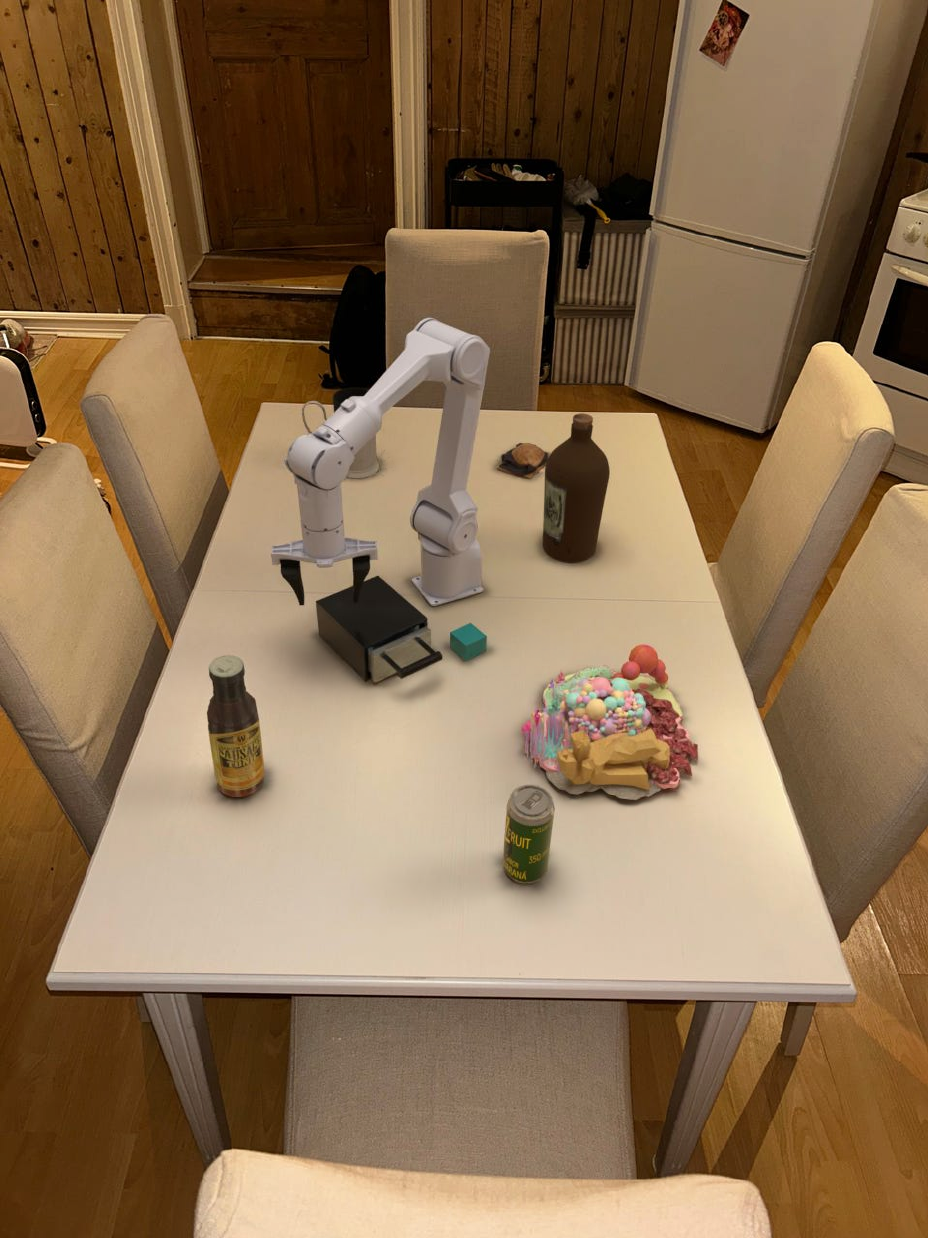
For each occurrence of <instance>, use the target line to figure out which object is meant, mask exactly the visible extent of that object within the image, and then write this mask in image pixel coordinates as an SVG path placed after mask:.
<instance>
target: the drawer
mask: <svg viewBox="0 0 928 1238" xmlns="http://www.w3.org/2000/svg"><path fill="white" fill-rule="evenodd" d="M443 658H444V657H443V654H442V652H441V651H439V650H437V651H436V650H434V649H433V648H432V629H431V628H430V627H429V626H428V627H427V626H425V627H423V628H421V629H419V625H418V626H416V627H414V628H412V629H409V630H407V631H405V632H403V633H401V634H398V635H396V636H394V637H392V638H390V639H387V640H385V641H383V642H381V643H379V644H376V645H374V646H372V647H370V648H368V649H367V659H368V671H370V674H371V681H373V682H374V683H379V682H380V681H382V680H384V679H387V678H388V677H391V676H392V675H395V674H397V676H398V678H399V679H400V680H403V679H406V678H408V677H409V676H411V675H414V674H415V673H419V672H420V671H422V670H423V669H426V668H427V667H431V666H432V665H434V664H437V663H438V662H440V661H441V662H442V661H443V660H444V659H443Z"/></svg>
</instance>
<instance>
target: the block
mask: <svg viewBox="0 0 928 1238" xmlns="http://www.w3.org/2000/svg"><path fill="white" fill-rule="evenodd" d="M487 637H488V636H487V635H486V634H485V633H484V632H483V631H481V629H479V628H478V627H477V626H476V625H474V624H473V623H472V622H469V623H466V624H465V625H462V626H459V627H458V628H455V629H454V630H452V631H450V632H449V648H450V649H451V650H452V651H453V652H455V653H456V654H457V655H458V656H459V657H460V658H461V659H462V660H463V661H465V662H467V661H469V660H470V659H474V657H477V656H479V655H481V654H483V653H484V652H487V641H488V640H487V639H488V638H487Z"/></svg>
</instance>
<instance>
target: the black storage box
mask: <svg viewBox="0 0 928 1238" xmlns="http://www.w3.org/2000/svg"><path fill="white" fill-rule="evenodd" d="M315 608H316V619H317V629H318V631H317V632H318V636H319V637H320V638H321V639H322V640H323V641H324V642H325V643H326V645H328V646H329V647H330V648H331V650H333V651H334V653H336V654H337V655H338V656H339V657H340V658H341V659H342V660H343V661H344V662H345V663H346V664H347V665H348V666H349V667H350V669H352V671H354V672H355V673H356V674H357V675H358V676H359V677H360V678H361V679H362V681H364V683H367V682H369V681H372V679H371V674H370V671H368V659H367V649H368V648H370V647H372V646H374V645H376V644H379V643H381V642H383V641H385V640H387V639H390V638H392V637H394V636H396V635H398V634H401V633H403V632H405V631H407V630H409V629H412V628H414V627H416V626H418V625H419V629H421V628H423V627H425V626H427V627H428V628H429V626H428V624H429V623H428V621H429V620H428V617H427V616H426V615H424V614H423V612H421V611H420V610H418V609H417V608H416V607H415V606H414V605H413V604H412V603H411V602H409V600H407V599H406V598H405V597H404V596H403V595H402V594H400V593H399V592H398V591H397V590H396V589H395V588H393V587H392V586H391V585H390V584H389V583H388V582H387V581H385V580H384V579H383V578H382V577H381V576H380V575H375V576H373V577H371V578H368V579H365V580H364V582H363V584H362V587H361V590H360V593H359V599H358V603H354V602H353V585H351V586H349V587H347V588H344V589H342V590H339V591H337V592H334V593H331V594H330V595H327V596H325V597H322V598H320V599H317V600H315Z"/></svg>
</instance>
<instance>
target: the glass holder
mask: <svg viewBox="0 0 928 1238" xmlns="http://www.w3.org/2000/svg"><path fill="white" fill-rule="evenodd" d="M368 391H369V389H366V388H362V387H345V388H342V389H339V390H337V391H336V392H334V394H333V395H332V404H333V413H334V412H335V411H336V410H337V409H338V408H339V407H341V404H342V403H343V402H344V401H345V400H346V399H349V398H350V397H352V396H365V395H366V393H367V392H368ZM312 404H315V405H317V406H318V407H319V408H320V409H321V410H322V413H323V419H324V422H325V421H326V420H327V419H328V418H327V412H326V409H325V407H324V405H322V403H321V402H319V401H317V400H310V401H307V402H306V403H304V404H303V406H302V408H301V417H302V423H303V425H304V427H305V430H306V431H307V432H308V433H307V434H313V433H314V432H312V430H311V429H310V427H309V426H308V423H307V421H306V416H305V408H306V406H308V405H312ZM377 454H378V453H377V433H376V434H375V435H374V436H373V437H372V438H371V439H370V440H369V441H368V442H367V443H366V444H365V445H364V446H363V447H362V448H361V449H360V450H359V451H358V452H357V453H356V454H355V455H354V457H355V459H354V460H353V461H354V462H353V463H352V464H351V465H350V467H349V471H348V474H347V476H346V478H347V479H364V478H369V477H371V476H373V475H375V474H377V472H378V471H379V470H380V464H379V462H378V457H377Z"/></svg>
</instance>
